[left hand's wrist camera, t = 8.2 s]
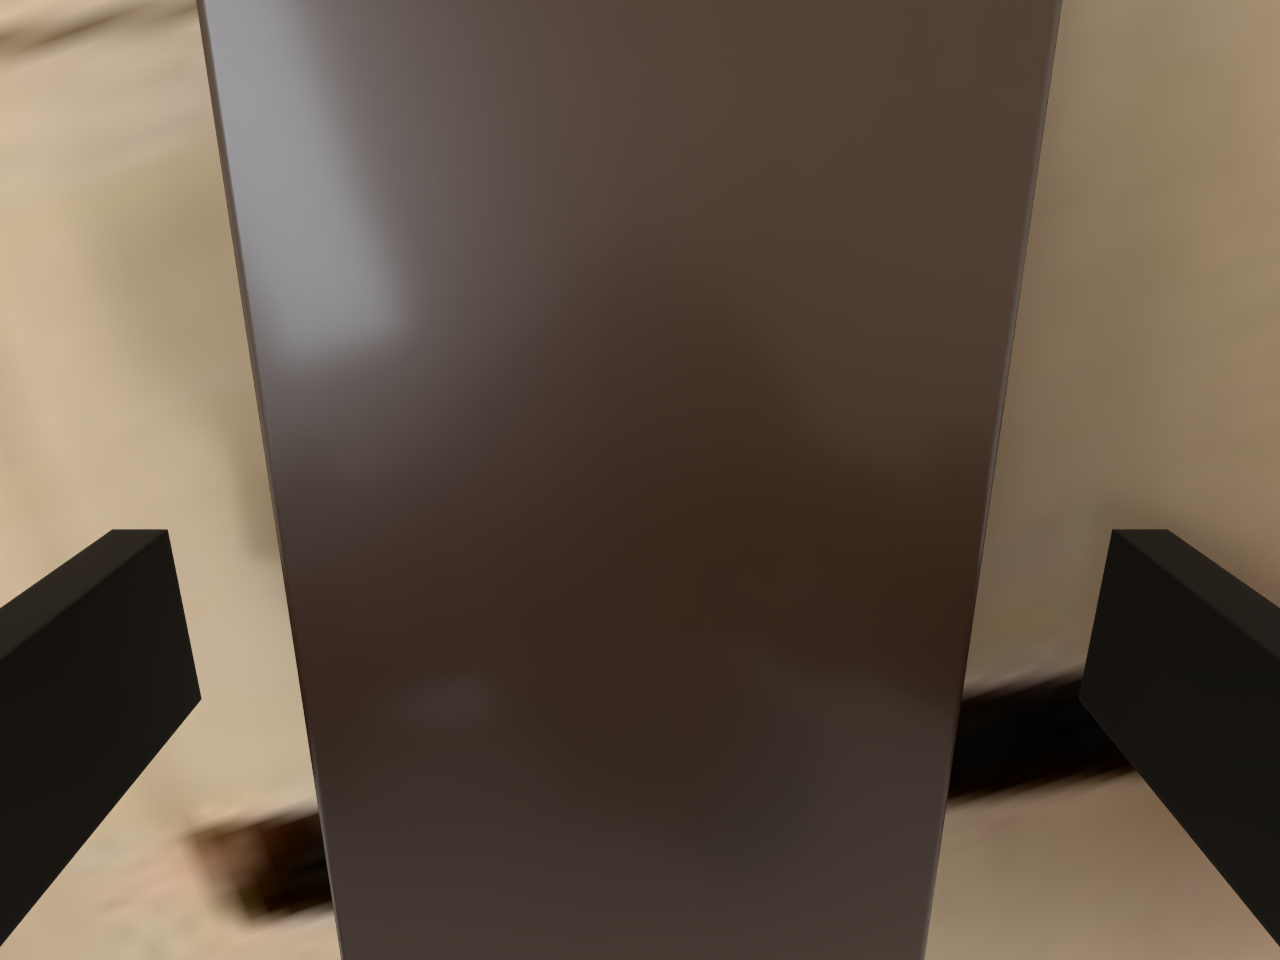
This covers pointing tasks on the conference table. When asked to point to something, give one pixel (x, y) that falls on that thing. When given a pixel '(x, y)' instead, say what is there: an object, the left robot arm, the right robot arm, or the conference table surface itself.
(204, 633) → the conference table surface
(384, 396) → the plank
